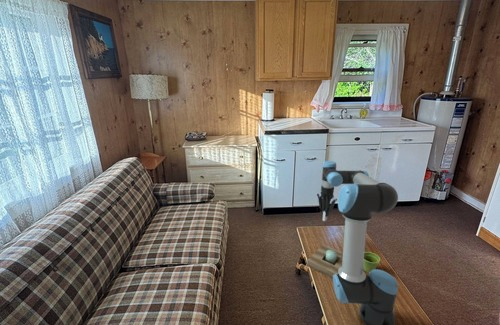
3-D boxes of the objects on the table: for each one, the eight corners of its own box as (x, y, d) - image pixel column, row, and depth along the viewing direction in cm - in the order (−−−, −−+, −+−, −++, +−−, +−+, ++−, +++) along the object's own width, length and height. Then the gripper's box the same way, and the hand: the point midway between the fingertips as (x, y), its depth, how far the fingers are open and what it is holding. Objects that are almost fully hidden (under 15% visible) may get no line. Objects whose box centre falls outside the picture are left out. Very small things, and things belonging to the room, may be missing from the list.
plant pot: (379, 276, 148) (382, 263, 145) (361, 274, 150) (363, 261, 147) (375, 265, 156) (377, 253, 154) (358, 263, 158) (360, 251, 155)
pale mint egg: (333, 265, 153) (334, 257, 151) (323, 260, 156) (324, 253, 155) (337, 259, 157) (338, 252, 155) (328, 255, 161) (328, 248, 159)
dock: (339, 282, 144) (340, 276, 143) (306, 265, 157) (307, 260, 155) (353, 262, 159) (354, 257, 157) (322, 249, 171) (322, 244, 170)
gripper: (340, 187, 159) (337, 222, 166) (322, 181, 168) (319, 214, 176) (334, 191, 154) (330, 226, 162) (315, 184, 163) (312, 218, 171)
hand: (324, 220), depth 169 cm, fingers closed
